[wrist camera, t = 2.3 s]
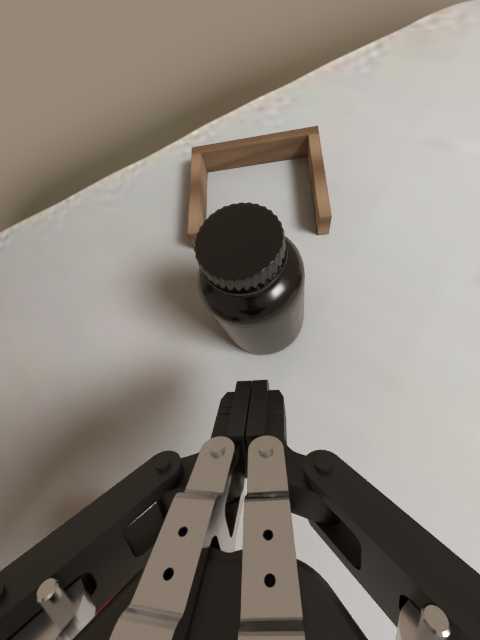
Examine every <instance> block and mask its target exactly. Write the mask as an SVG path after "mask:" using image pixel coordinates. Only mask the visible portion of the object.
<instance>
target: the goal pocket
mask: <svg viewBox="0 0 480 640" xmlns="http://www.w3.org/2000/svg"><path fill="white" fill-rule="evenodd" d="M306 156H308V164H309V172H310V179H311V187H312V195H313V202H314V210H315V218H316V226H317V233H318V235H322V234H329V229H330V223H331V217H332V216H331V209H330V203H329V196H328V189H327V183H326V176H325V170H324V163H323V157H322V150H321V144H320V137H319V131H318V126H314V127H308V128H302V129H297V130H291V131H285V132H279V133H273V134H268V135H262V136H256V137H250V138H245V139H239V140H233V141H227V142H222V143H216V144H210V145H204V146H198V147H193V148H192V158H191V177H190V197H189V216H188V236H189V238H190V240H191V242H192V243H193V245H194V247H195V243H194V242H195V240H196V234H197V233H198V232H199V228H200V227H201V226H202V225H203V223H204V221H205V220H206V207H207V172H212V171H218V170H224V169H231V168H237V167H243V166H250V165H256V164H262V163H269V162H275V161H281V160H288V159H294V158H300V157H306Z"/></svg>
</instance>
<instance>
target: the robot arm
mask: <svg viewBox="0 0 480 640" xmlns="http://www.w3.org/2000/svg"><path fill="white" fill-rule="evenodd" d="M245 478H247V496H245V499H244V491H243V488H244V480H245ZM243 499H244V524H243V550H239V551H235V541H236V536H237V530H238V525H239V520H240V514H241V509H242V504H243ZM155 502H157V503H156V504H155V505H153V504H154V503H155ZM151 505H153V506H152V507H151V508H150V509H149V510H148V511H147V512H145V513H144V514H143V515H142V516H141V517H140V518H138V519H137V520H136V521H135V522H134V523H133V524H131V523H132V522H133V521H134V520H135V519H136V518H137V517H139V516H140V515H141V514H142V513H143V512H144V511H146V510H147V509H148V508H149V507H150V506H151ZM291 513H294V514H297V515H299V516H302V517H305V518H307V519H308V521H309V523H310V525H311V526H312V527H313V529H314V530H315V531H316V532H317V533H318V534H319V536H320V537H321V538H322V539H323V540H324V542H325V543H326V544H327V545H328V546H329V547H330V549H331V550H332V551H333V552H334V553H335V555H336V556H337V557H338V558H339V559H340V560H341V562H342V563H343V564H344V565H345V566H346V568H347V569H348V570H349V571H350V572H351V574H352V575H353V576H354V577H355V578H356V579H357V581H358V582H359V583H360V584H361V585H362V587H363V588H364V589H365V590H366V591H367V592H368V594H369V595H370V596H371V597H372V598H373V600H374V601H375V602H376V603H377V604H378V605H379V607H380V608H381V609H382V610H383V611H384V613H385V614H386V615H387V616H388V617H389V619H390V620H391V621H392V622H393V623H394V624H395V626H396V627H397V635H396V640H480V574H479V573H477V572H476V571H475V570H474V569H473V568H471V567H470V566H469V565H468V564H467V563H465V562H464V561H463V560H462V559H460V558H459V557H458V556H457V555H456V554H454V553H453V552H452V551H451V550H450V549H448V548H447V547H446V546H445V545H444V544H442V543H441V542H440V541H439V540H438V539H436V538H435V537H434V536H433V535H432V534H430V533H429V532H428V531H427V530H426V529H424V528H423V527H422V526H421V525H420V524H418V523H417V522H416V521H415V520H414V519H412V518H411V517H410V516H409V515H408V514H406V513H405V512H404V511H403V510H402V509H400V508H399V507H398V506H397V505H396V504H394V503H393V502H392V501H391V500H390V499H388V498H387V497H386V496H385V495H384V494H382V493H381V492H380V491H379V490H378V489H376V488H375V487H374V486H373V485H372V484H370V483H369V482H368V481H367V480H366V479H364V478H363V477H362V476H361V475H360V474H358V473H357V472H356V471H355V470H354V469H352V468H351V467H350V466H349V465H347V464H346V463H345V462H344V461H343V460H341V459H340V458H339V457H338V456H337V455H335V454H334V453H332V452H329V451H326V450H316V451H313V452H311V453H309V454H308V455H307V456H305V455H302V454H298V453H296V452H294V451H292V450H291V449H290V448H289V447H288V446H287V435H286V416H285V406H284V397H283V395H282V394H281V392H280V391H279V390H269V383H268V380H255V381H253V382H252V381H237V384H236V389H235V392H227V393H226V394H225V395H224V397H223V398H222V399H221V402H220V406H219V409H218V413H217V417H216V421H215V424H214V428H213V432H212V436H211V439H209V440H208V441H207V442H205V443H204V445H203V446H202V448H201V450H200V452H199V453H196V454H194V455H191V456H187V457H184V458H180V456H179V455H178V453H176V452H174V451H163V452H160V453H158V454H156V455H155V456H153V457H152V458H151V459H149V460H148V461H147V462H145V463H144V464H143V465H141V466H140V467H139V468H137V469H136V470H135V471H133V472H132V473H131V474H129V475H128V476H127V477H125V478H124V479H123V480H121V481H120V482H119V483H117V484H116V485H115V486H113V487H112V488H111V489H109V490H108V491H107V492H105V493H104V494H103V495H101V496H100V497H99V498H97V499H96V500H95V501H93V502H92V503H91V504H89V505H88V506H87V507H85V508H84V509H83V510H81V511H80V512H79V513H77V514H76V515H75V516H73V517H72V518H71V519H69V520H68V521H67V522H65V523H64V524H63V525H61V526H60V527H59V528H57V529H56V530H55V531H54V532H52V533H51V534H50V535H48V536H47V537H46V538H44V539H43V540H42V541H40V542H39V543H38V544H36V545H35V546H34V547H32V548H31V549H30V550H28V551H27V552H26V553H24V554H23V555H22V556H20V557H19V558H18V559H16V560H15V561H14V562H12V563H11V564H10V565H8V566H7V567H6V568H4V569H3V570H2V571H0V640H368V639H367V638H366V636H365V635H364V633H363V632H362V631H361V629H360V628H359V626H358V625H357V624H356V622H355V621H354V619H353V618H352V616H351V615H350V614H349V612H348V611H347V609H346V608H345V607H344V605H343V604H342V602H341V601H340V600H339V598H338V597H337V595H336V594H335V593H334V591H333V590H332V588H331V587H330V586H329V584H328V583H327V582H326V581H325V580H324V579H323V578H322V576H321V575H320V574H319V573H317V572H316V571H315V570H314V569H313V568H311V567H310V566H309V565H307V564H306V563H304V562H302V561H300V560H298V559H296V552H295V544H294V535H293V526H292V517H291ZM130 524H131V525H130ZM129 525H130V526H129ZM128 526H129V527H128ZM127 527H128V528H127ZM146 563H147V564H146ZM145 564H146V565H145ZM144 565H145V566H144ZM143 566H144V567H143ZM120 589H121V590H120ZM119 590H120V591H119ZM118 591H119V592H118ZM117 592H118V593H117ZM116 593H117V594H116ZM115 594H116V595H115ZM114 595H115V596H114ZM113 596H114V597H113ZM112 597H113V598H112ZM111 598H112V599H111ZM110 599H111V600H110ZM109 600H110V601H109ZM108 601H109V602H108ZM107 602H108V603H107ZM106 603H107V604H106ZM104 604H106V605H105V606H104V607H103V608H102V609H101V610H100V611H99V612H98V613H97V614H96V615H95V613H96V612H97V611H98V610H99V609H100V608H101V607H102V606H103V605H104Z"/></svg>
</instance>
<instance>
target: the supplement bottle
mask: <svg viewBox="0 0 480 640" xmlns="http://www.w3.org/2000/svg"><path fill="white" fill-rule="evenodd" d="M194 243H195V248H194V251H195V253H196V259H197V261H198V263H199V266H200V267H199V271H198V289H199V293H200V296H201V298H202V300H203V302H204V304H205V305H206V307H207V308H208V310H209V311H210V312H211V314H212V315H213V316H214V318H215V319H216V320H217V321H218V323H219V324H220V325H221V327H222V328H223V329H224V330H225V332H226V333H227V334H228V336H229V337H230V338H231V339H232V340H233V342H234V343H235V344H236V345H238V346H239V347H240V348H242V349H243V350H245V351H247V352H250V353H253V354H258V355H267V354H273V353H276V352H279V351H281V350H283V349H285V348H286V347H288V346H289V345H290V344H291V343H292V342H293V341H294V340H295V339H296V338H297V336H298V334H299V333H300V330H301V328H302V324H303V317H304V282H305V274H304V265H303V260H302V257H301V255H300V253H299V251H298V249H297V248H296V246H295V245H294V244H293V243H292V242H291V241H290V240H289V239H288V238H287V237H285V234H284V230H283V228H282V224H281V222H280V221H279V220H278V217H277V216H276V215H274V214H273V212H272V211H271V210H268V209H267V208H266V207H264V206H260V205H258V204H252V203H238V204H231V205H229V206H224V207H223V208H222V209H219V210H217V211H216V212H215V213H213V214H211V215H210V216H209V218H208V219H206V220H205V221H204V223H203V225H202V226H201V227H200V228H199V232H198V233H197V234H196V240H195V242H194Z"/></svg>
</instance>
